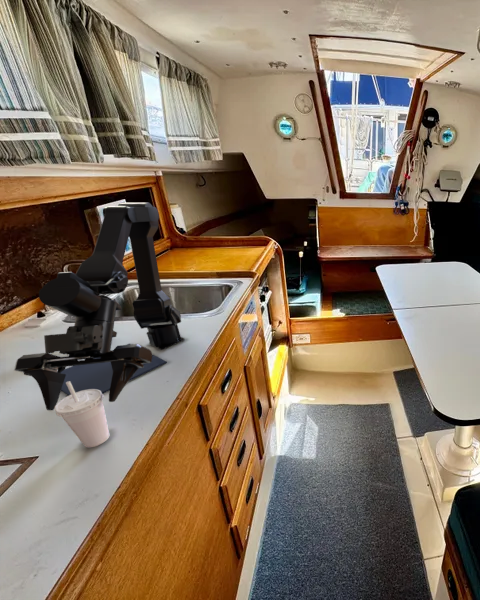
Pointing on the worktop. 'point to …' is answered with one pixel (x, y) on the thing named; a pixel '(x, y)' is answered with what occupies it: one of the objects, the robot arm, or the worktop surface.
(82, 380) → the mat
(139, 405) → the worktop surface
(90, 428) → the smoothie
